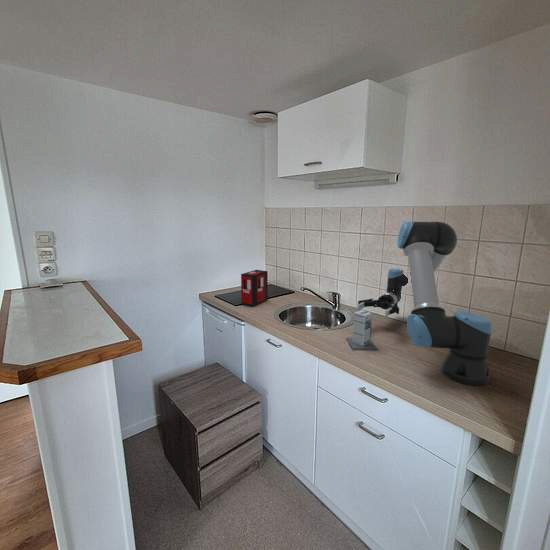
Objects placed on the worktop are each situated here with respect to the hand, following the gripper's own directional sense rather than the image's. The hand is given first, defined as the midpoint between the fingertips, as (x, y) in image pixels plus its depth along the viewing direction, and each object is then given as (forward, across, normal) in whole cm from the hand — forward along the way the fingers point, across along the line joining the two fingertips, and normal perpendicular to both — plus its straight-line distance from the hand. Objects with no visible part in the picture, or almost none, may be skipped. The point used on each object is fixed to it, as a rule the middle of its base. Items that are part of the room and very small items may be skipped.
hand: (371, 310), depth 144 cm
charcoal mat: (+10, 0, -14) cm, 17 cm away
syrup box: (+10, 0, -13) cm, 16 cm away
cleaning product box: (-6, +80, -13) cm, 81 cm away
